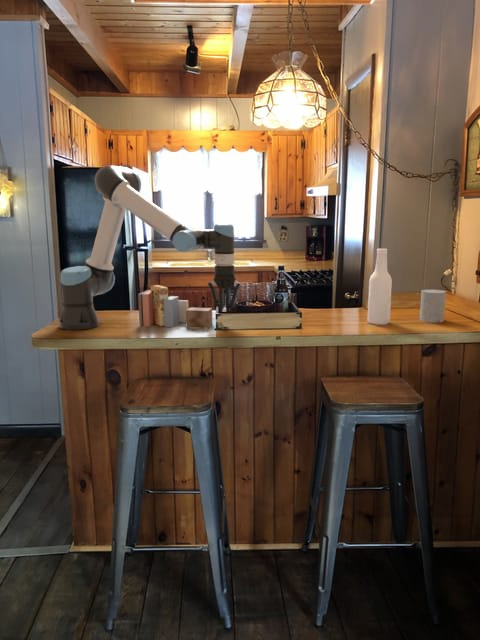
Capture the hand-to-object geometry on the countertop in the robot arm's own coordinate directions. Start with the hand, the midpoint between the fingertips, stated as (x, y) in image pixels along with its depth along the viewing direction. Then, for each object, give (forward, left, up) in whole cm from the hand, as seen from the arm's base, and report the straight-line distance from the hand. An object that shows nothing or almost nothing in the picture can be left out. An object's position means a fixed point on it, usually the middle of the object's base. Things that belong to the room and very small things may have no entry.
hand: (225, 324), depth 203 cm
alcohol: (+60, +18, -1) cm, 63 cm away
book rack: (-26, +1, -1) cm, 26 cm away
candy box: (-27, 0, -1) cm, 27 cm away
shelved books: (-27, 0, -1) cm, 27 cm away
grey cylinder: (+82, +27, -1) cm, 86 cm away
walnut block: (-10, 0, -1) cm, 11 cm away
